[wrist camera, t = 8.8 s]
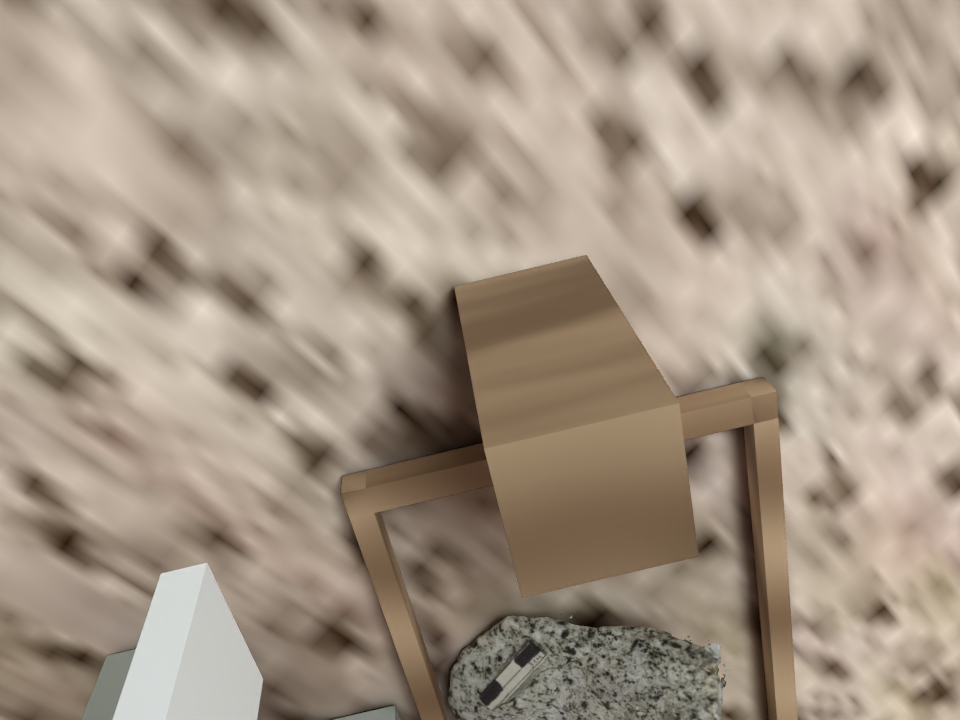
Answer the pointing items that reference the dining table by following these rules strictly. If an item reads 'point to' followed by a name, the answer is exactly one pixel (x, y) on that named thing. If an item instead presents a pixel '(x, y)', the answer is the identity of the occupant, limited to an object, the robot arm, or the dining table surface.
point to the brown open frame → (579, 461)
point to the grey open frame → (114, 677)
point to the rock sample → (584, 674)
